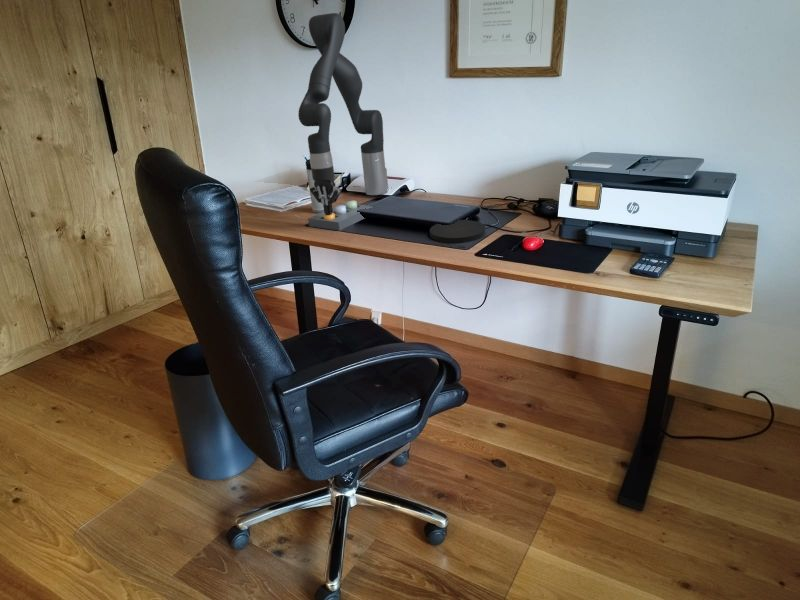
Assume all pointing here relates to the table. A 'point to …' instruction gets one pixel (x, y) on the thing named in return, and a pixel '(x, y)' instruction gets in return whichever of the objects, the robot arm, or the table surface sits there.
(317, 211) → the travel mug
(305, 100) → the robot arm
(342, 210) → the blue-grey button
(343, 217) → the button panel
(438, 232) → the wireless charger
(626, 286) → the table surface
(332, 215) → the orange button
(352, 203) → the sage button
